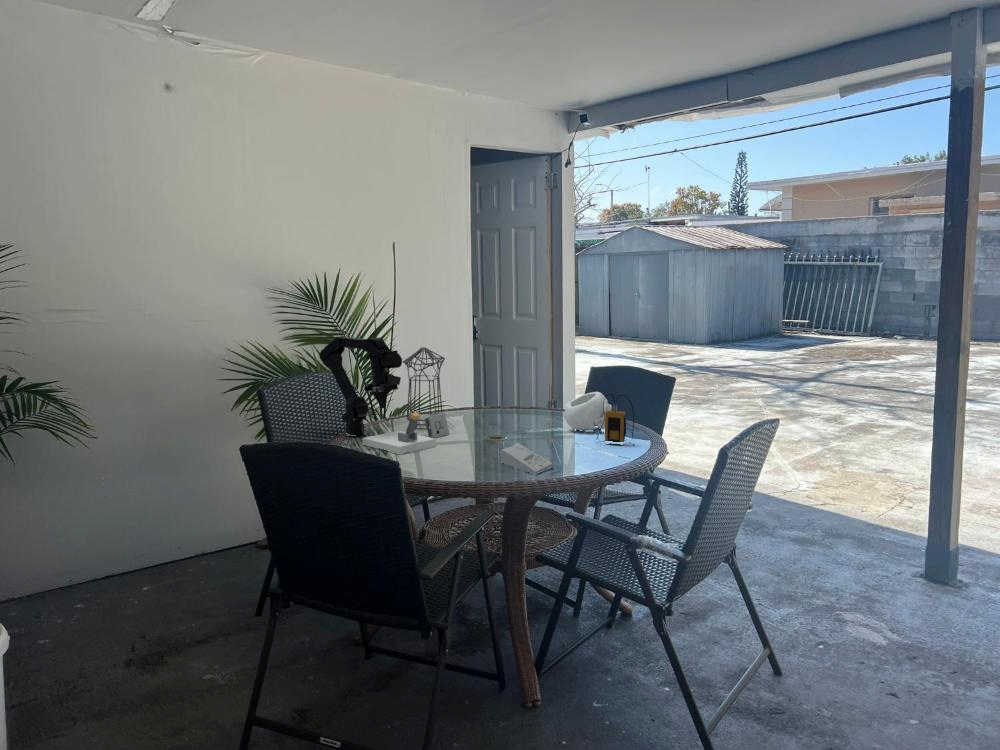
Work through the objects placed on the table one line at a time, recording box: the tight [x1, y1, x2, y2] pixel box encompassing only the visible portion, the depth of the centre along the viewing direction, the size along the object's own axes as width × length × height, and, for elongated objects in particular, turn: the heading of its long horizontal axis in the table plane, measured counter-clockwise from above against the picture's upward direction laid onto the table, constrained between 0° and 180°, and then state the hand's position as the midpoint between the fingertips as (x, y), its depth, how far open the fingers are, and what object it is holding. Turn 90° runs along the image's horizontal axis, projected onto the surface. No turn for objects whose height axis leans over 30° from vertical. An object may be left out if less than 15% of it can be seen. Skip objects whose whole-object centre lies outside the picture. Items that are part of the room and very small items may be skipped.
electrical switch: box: [424, 412, 450, 439], centre depth 309 cm, size 9×5×9 cm, turn 141°
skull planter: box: [563, 391, 613, 431], centre depth 317 cm, size 14×20×19 cm
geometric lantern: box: [402, 346, 446, 430], centre depth 323 cm, size 16×16×35 cm
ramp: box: [500, 442, 554, 473], centre depth 263 cm, size 28×16×5 cm, turn 14°
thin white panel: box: [362, 430, 437, 455], centre depth 291 cm, size 22×18×6 cm
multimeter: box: [595, 393, 635, 442], centre depth 295 cm, size 15×10×20 cm
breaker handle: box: [405, 411, 421, 439], centre depth 285 cm, size 2×3×11 cm, turn 138°
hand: (383, 408), depth 300 cm, fingers closed
